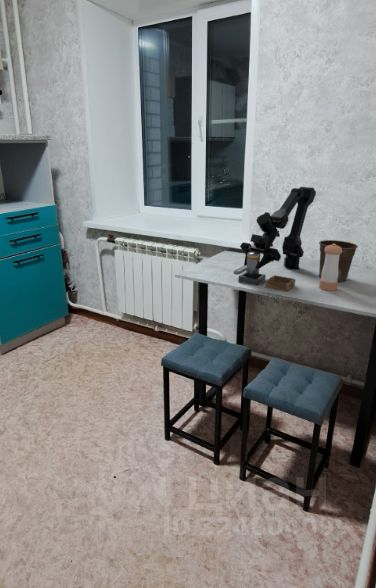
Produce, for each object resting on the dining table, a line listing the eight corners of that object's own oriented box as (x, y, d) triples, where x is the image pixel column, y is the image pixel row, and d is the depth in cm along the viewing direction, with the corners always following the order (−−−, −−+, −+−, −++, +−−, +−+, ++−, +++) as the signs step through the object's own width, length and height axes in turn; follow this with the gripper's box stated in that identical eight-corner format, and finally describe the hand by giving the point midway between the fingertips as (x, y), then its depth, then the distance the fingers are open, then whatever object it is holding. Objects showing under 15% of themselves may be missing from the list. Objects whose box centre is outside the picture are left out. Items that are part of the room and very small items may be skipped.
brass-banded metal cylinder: (256, 278, 180) (259, 251, 175) (259, 282, 174) (262, 254, 170) (244, 278, 179) (246, 251, 175) (246, 282, 174) (248, 254, 170)
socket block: (246, 276, 183) (247, 271, 182) (265, 280, 178) (265, 274, 177) (238, 281, 175) (238, 276, 174) (257, 285, 171) (257, 279, 170)
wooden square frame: (273, 281, 176) (274, 275, 175) (294, 285, 171) (295, 278, 170) (265, 287, 168) (265, 280, 167) (287, 291, 164) (288, 284, 163)
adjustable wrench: (237, 275, 186) (237, 271, 185) (225, 273, 189) (225, 269, 189) (261, 264, 205) (261, 260, 204) (250, 262, 209) (250, 258, 208)
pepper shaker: (315, 287, 169) (321, 243, 163) (323, 284, 174) (330, 241, 168) (331, 292, 164) (338, 246, 158) (339, 288, 169) (346, 243, 163)
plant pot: (354, 277, 185) (360, 242, 180) (348, 286, 172) (354, 249, 167) (319, 271, 193) (323, 238, 188) (310, 279, 180) (315, 244, 175)
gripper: (243, 224, 178) (226, 252, 174) (279, 230, 165) (262, 260, 162) (253, 239, 186) (236, 266, 182) (288, 246, 173) (271, 275, 170)
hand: (251, 266), depth 174 cm, fingers open, 7 cm apart
